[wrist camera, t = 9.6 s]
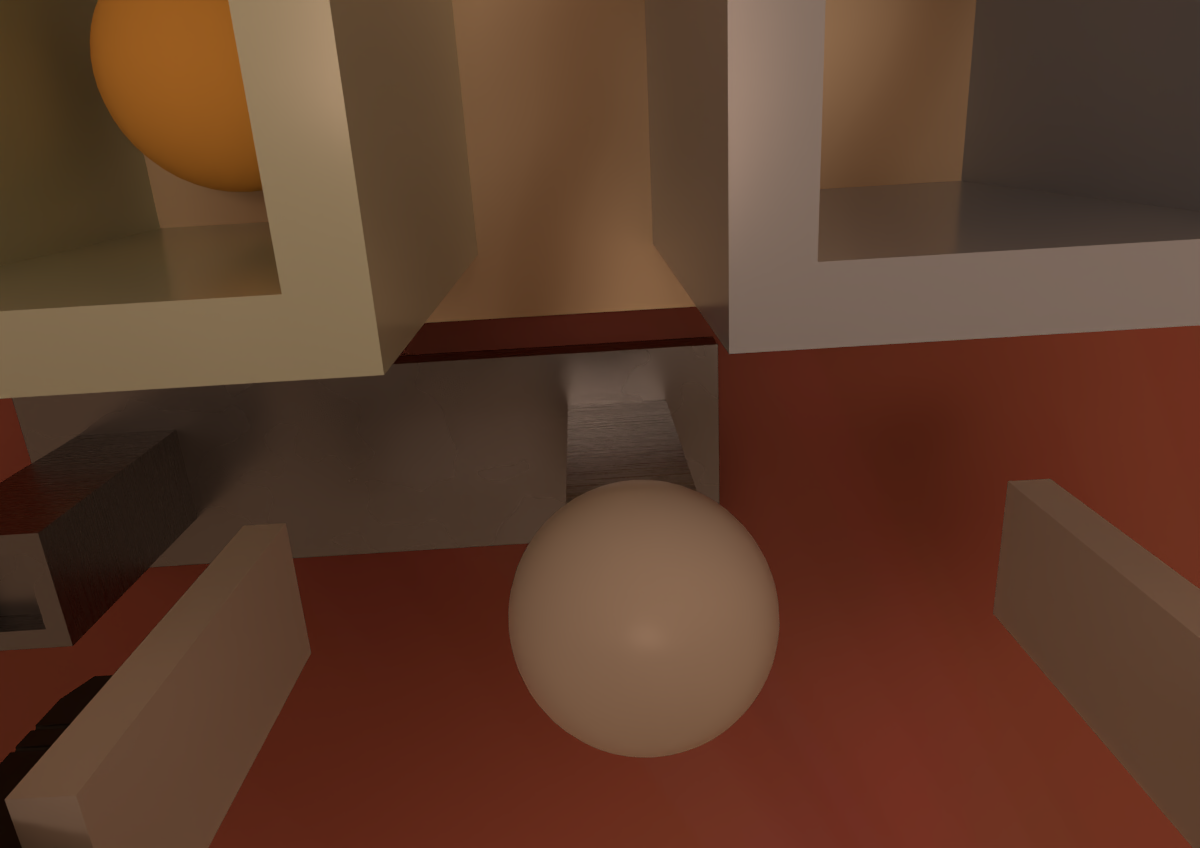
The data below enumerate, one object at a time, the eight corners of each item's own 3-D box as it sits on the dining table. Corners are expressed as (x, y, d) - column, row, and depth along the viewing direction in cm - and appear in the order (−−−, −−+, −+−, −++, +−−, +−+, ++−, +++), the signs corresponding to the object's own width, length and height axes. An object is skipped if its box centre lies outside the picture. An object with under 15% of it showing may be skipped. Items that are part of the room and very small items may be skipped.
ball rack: (81, 557, 22) (-100, 714, 16) (29, 378, 21) (-195, 479, 15) (714, 517, 23) (765, 658, 17) (712, 336, 21) (768, 420, 15)
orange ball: (188, 191, 19) (72, 207, 14) (141, -33, 17) (-3, -86, 13) (386, 179, 18) (328, 192, 14) (357, -46, 17) (282, -104, 13)
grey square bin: (652, 244, 19) (729, 354, 10) (639, -168, 16) (724, -566, 7) (1000, 223, 19) (1412, 312, 10) (1042, -190, 17) (1659, -613, 7)
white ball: (527, 656, 17) (511, 832, 12) (507, 449, 15) (481, 570, 11) (748, 642, 17) (807, 813, 12) (750, 434, 15) (816, 549, 11)
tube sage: (126, 275, 19) (-314, 417, 10) (27, -134, 16) (-715, -493, 7) (478, 254, 19) (384, 375, 10) (435, -157, 16) (250, -541, 7)
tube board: (38, 337, 20) (7, 349, 19) (-114, -198, 17) (-164, -222, 16) (1095, 274, 21) (1125, 282, 20) (1171, -268, 17) (1214, -296, 16)
